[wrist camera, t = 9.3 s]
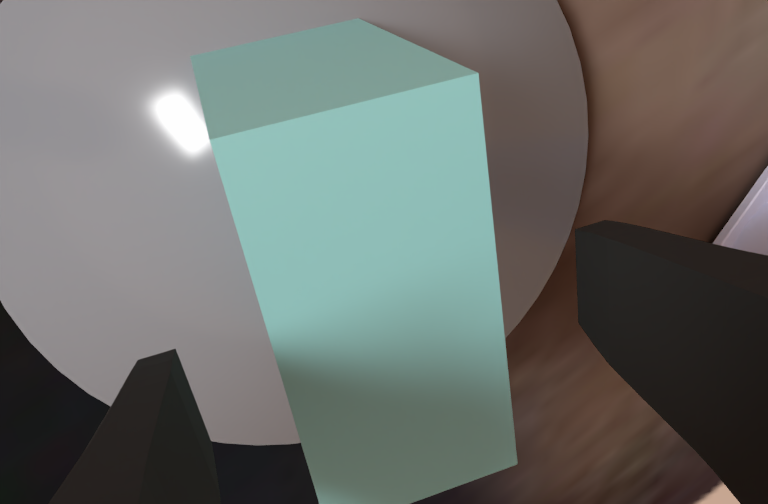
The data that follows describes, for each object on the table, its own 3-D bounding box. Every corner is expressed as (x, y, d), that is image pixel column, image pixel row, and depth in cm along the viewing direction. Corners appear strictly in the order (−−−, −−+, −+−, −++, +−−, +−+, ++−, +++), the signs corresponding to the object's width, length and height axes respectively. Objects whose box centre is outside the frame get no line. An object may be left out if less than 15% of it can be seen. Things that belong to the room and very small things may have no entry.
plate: (663, 55, 20) (690, 62, 19) (401, 465, 24) (412, 490, 23) (130, -335, 13) (128, -357, 12) (-117, 333, 17) (-135, 359, 16)
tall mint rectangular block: (190, 56, 15) (209, 140, 9) (358, 18, 16) (478, 72, 10) (274, 341, 19) (328, 533, 13) (408, 299, 20) (517, 464, 14)
